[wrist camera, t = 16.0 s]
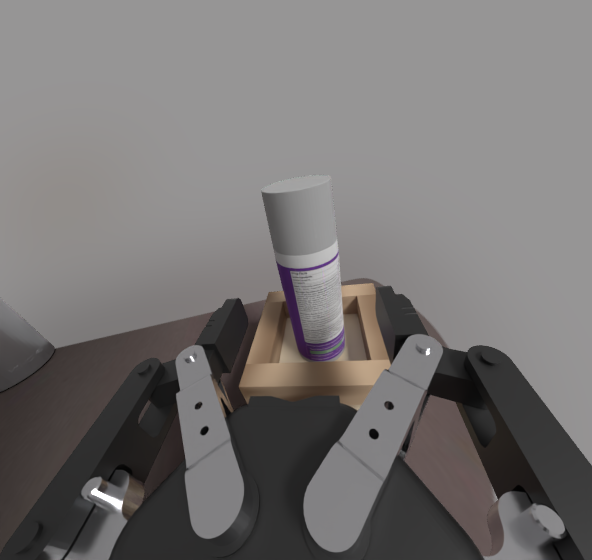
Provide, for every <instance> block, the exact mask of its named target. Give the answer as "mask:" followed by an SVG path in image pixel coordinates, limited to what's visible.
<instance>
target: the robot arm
mask: <svg viewBox="0 0 592 560" xmlns="http://www.w3.org/2000/svg"><path fill="white" fill-rule="evenodd" d="M375 311H376V318H377V321H378V325H379V328H380V331H381V335H382V338H383V341H384V344H385V348H386V351H387V354H388V357H389V361H390V364H391V366H390V368H389V369H388V370H387V369H384V370H383V371H382V373H381V374H380V376H379V378H378V379H377V381H376V382H375V384H374V386H373V387H372V389H371V390H370V392H369V394H368V395H367V397H366V399H365V400H364V402H363V403H362V405H361V407H360V408H359V410H356V409H354V408H353V407H351V406H348V405H346V404H343V403H340V398H339V395H338V396H313V397H309V398H306V399H302V400H298V401H294V402H291V401H287V400H284V399H280V398H276V397H273V396H250V399H249V403H248V404H246V405H244V406H241V407H239V408H237V409H236V410H234V411H233V408H232V406H231V404H230V401H229V398H228V396H227V393H226V390H225V388H224V385H223V382H222V380H221V375H222V373H230V372H231V370H232V367H233V364H234V362H235V359H236V356H237V353H238V351H239V348H240V345H241V343H242V340H243V337H244V335H245V332H246V329H247V326H248V318H247V315H246V312H245V309H244V307H243V304H242V302H241V300H240V299H239V298H237V299H227V300H226V301H225V303H224V304H223V306H222V308H219V309H218V310H217V311H215V312H214V313H213V314H212V316H211V318H210V319H209V322H208V323H207V325H206V327H205V328H204V330H203V331H202V333H201V335H200V336H199V338H198V340H197V342H196V343H195V345H194V346H190V347H188V348H186V349H185V350H183V351H182V352H181V353H180V354H179V355H178V357H177V359H175V360H172V361H169V362H166V363H163V364H162V363H161V362H160V361H159V359H157V358H150V359H147V360H145V361H143V362H141V363H140V364H138V365H137V366H136V367H135V368H134V369H133V370H132V372H131V373H130V374H129V376H128V377H127V378H126V380H125V381H124V383H123V384H122V385H121V387H120V388H119V389H118V391H117V392H116V394H115V395H114V396H113V398H112V399H111V400H110V402H109V403H108V405H107V406H106V407H105V409H104V410H103V411H102V413H101V414H100V416H99V417H98V418H97V420H96V421H95V422H94V424H93V425H92V426H91V428H90V429H89V431H88V432H87V433H86V435H85V436H84V437H83V439H82V440H81V442H80V443H79V444H78V446H77V447H76V448H75V450H74V451H73V453H72V454H71V455H70V457H69V458H68V459H67V461H66V462H65V464H64V465H63V466H62V468H61V469H60V470H59V472H58V473H57V475H56V476H55V477H54V479H53V480H52V481H51V483H50V484H49V485H48V487H47V488H46V490H45V491H44V492H43V494H42V495H41V496H40V498H39V499H38V501H37V502H36V503H35V505H34V506H33V507H32V509H31V510H30V512H29V513H28V514H27V516H26V517H25V518H24V520H23V521H22V523H21V524H20V525H19V527H18V528H17V529H16V531H15V532H14V533H13V535H12V536H11V538H10V539H9V540H8V542H7V543H6V545H5V547H4V548H3V550H2V552H1V554H0V560H592V466H591V464H590V463H589V462H588V460H587V459H586V458H585V456H584V455H583V454H582V452H581V451H580V450H579V448H578V447H577V446H576V444H575V443H574V442H573V441H572V439H571V438H570V437H569V435H568V434H567V433H566V432H565V430H564V429H563V427H562V426H561V425H560V423H559V422H558V421H557V420H556V418H555V417H554V416H553V414H552V413H551V412H550V410H549V409H548V408H547V406H546V405H545V404H544V402H543V401H542V400H541V398H540V397H539V396H538V394H537V393H536V392H535V391H534V389H533V388H532V387H531V385H530V384H529V383H528V381H527V380H526V379H525V378H524V376H523V375H522V373H521V372H520V371H519V369H518V368H517V367H516V365H515V364H514V363H513V362H512V360H511V359H510V358H509V357H508V356H507V355H506V354H504V353H502V352H501V351H499V350H497V349H495V348H492V347H489V346H482V345H479V346H473V347H471V348H470V349H469V350H468V352H463V351H457V350H452V349H448V348H445V347H443V346H441V344H440V343H439V342H438V341H437V340H435V339H434V338H432V337H430V336H429V335H428V333H427V331H426V330H425V328H424V326H423V324H422V322H421V320H420V318H419V317H418V315H417V314H416V311H415V309H414V308H413V305H412V304H411V302H410V300H409V299H407V298H406V297H405V296H404V295H402V294H397V295H395V293H394V291H393V289H392V287H391V286H382V287H376V303H375ZM54 350H55V349H54V346H53V345H52V344H51V343H49V342H48V341H47V340H46V339H45V338H44V337H43V336H42V335H41V334H40V333H39V332H38V331H36V330H35V329H34V328H33V327H32V326H31V325H30V324H29V323H28V322H27V321H26V320H25V319H23V318H22V317H21V316H20V315H19V314H18V313H17V312H16V311H15V310H13V309H12V308H11V307H10V306H9V305H8V304H7V303H6V302H5V301H3V299H1V298H0V392H1V391H4V390H6V389H8V388H10V387H12V386H13V385H15V384H17V383H19V382H20V381H22V380H24V379H25V378H27V377H28V376H30V375H31V374H33V373H34V372H35V371H36V370H38V369H39V368H40V367H41V366H42V365H44V364H45V363H46V362H47V361H48V360H49V358H50V357H51V356H52V354H53V353H54ZM431 395H433V396H437V397H440V398H444V399H447V400H451V401H455V402H456V404H457V407H458V409H459V411H460V413H461V416H462V418H463V420H464V423H465V425H466V427H467V429H468V432H469V434H470V436H471V439H472V441H473V443H474V445H475V448H476V450H477V452H478V455H479V457H480V459H481V461H482V464H483V466H484V468H485V471H486V473H487V475H488V477H489V480H490V482H491V484H492V487H493V489H494V491H495V493H496V496H497V498H498V500H497V501H496V502H495V503H494V504H493V505H492V506H491V507H490V509H489V511H488V514H487V522H488V527H489V531H490V535H491V540H492V549H491V553H490V555H489V557H484V556H482V554H481V553H480V551H479V549H478V548H477V546H476V545H475V544H474V542H473V541H472V539H471V538H470V537H469V535H468V534H467V533H466V532H465V530H464V529H463V528H462V527H461V526H460V525H459V523H458V522H457V521H456V520H455V519H454V518H453V517H452V515H451V514H450V513H449V512H448V511H447V510H446V509H445V507H444V506H443V505H442V504H441V503H440V502H439V500H438V499H437V498H436V497H435V496H434V495H433V494H432V492H431V491H430V490H429V489H428V488H427V487H426V485H425V484H424V483H423V482H422V481H421V480H420V479H419V477H418V476H417V475H416V474H415V473H414V472H413V470H412V469H411V468H410V467H409V466H408V465H407V464H406V462H405V459H406V457H407V454H408V452H409V449H410V447H411V444H412V442H413V439H414V436H415V433H416V430H417V427H418V425H419V422H420V420H421V418H422V415H423V413H424V410H425V408H426V406H427V403H428V401H429V398H430V396H431ZM148 399H149V400H150V402H151V404H150V406H149V407H148V409H147V411H146V413H145V414H144V416H143V418H142V420H141V421H140V423H139V424H138V418H139V415H140V413H141V411H142V410H143V408H144V406H145V405H146V403H147V401H148ZM177 411H178V412H179V419H180V425H181V432H182V439H183V445H184V452H185V460H184V461H183V462H182V463H181V464H180V465H179V466H178V467H177V468H176V469H175V470H174V471H173V472H172V473H171V474H170V475H169V476H168V477H167V478H166V479H165V480H164V481H163V482H162V483H161V485H160V486H159V487H158V488H157V489H156V490H155V491H154V492H153V493H152V494H151V495H150V496H149V497H148V498H147V499H146V500H145V501H144V502H143V501H142V500H143V497H144V491H145V490H144V483H145V480H146V478H147V476H148V474H149V472H150V470H151V467H152V465H153V463H154V461H155V459H156V456H157V454H158V452H159V450H160V448H161V445H162V443H163V441H164V439H165V437H166V435H167V432H168V430H169V428H170V426H171V424H172V421H173V419H174V417H175V415H176V413H177Z"/></svg>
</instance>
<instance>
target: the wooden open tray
mask: <svg viewBox="0 0 592 560" xmlns="http://www.w3.org/2000/svg"><path fill="white" fill-rule="evenodd" d="M341 293H342V307H343V320H344V334H345V349H344V352H343V354H342V355H341V356H340V357H339V358H338V359H337V360H335V361H330V362H308V361H306V360H304V359H303V358H302V357H301V355H300V354H299V351H298V348H297V344H296V340H295V336H294V332H293V328H292V324H291V319H290V315H289V311H288V307H287V303H286V299H285V295H284V291H277V292H269V293H268V296H267V300H266V303H265V306H264V309H263V312H262V315H261V318H260V321H259V325H258V328H257V331H256V334H255V337H254V340H253V343H252V347H251V350H250V353H249V356H248V359H247V362H246V365H245V369H244V372H243V375H242V378H241V381H240V384H239V389H240V391H241V392H242V394H243V396H244V398H245V400H246V402H247V404H248V403H249V399H250V396H273V397H276V398H280V399H284V400H287V401H291V402H294V401H298V400H302V399H306V398H309V397H313V396H338V395H339V398H340V403H343V404H346V405H348V406H351V407H353V408H354V409H356V410H359V408H360V407H361V405H362V403H363V402H364V400H365V399H366V397H367V395H368V394H369V392H370V390H371V389H372V387H373V386H374V384H375V382H376V381H377V379H378V378H379V376H380V374H381V373H382V371H383V370H384V369H387V370H388V369H389V368H390V366H391V364H390V361H389V357H388V354H387V351H386V348H385V344H384V341H383V338H382V335H381V331H380V328H379V325H378V321H377V318H376V311H375V303H376V291H375V288H374V285H373V283H370V284H359V285H347V286H341Z"/></svg>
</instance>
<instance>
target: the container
mask: <svg viewBox="0 0 592 560" xmlns="http://www.w3.org/2000/svg"><path fill="white" fill-rule="evenodd" d="M261 192H262V197H263V202H264V206H265V211H266V216H267V220H268V225H269V229H270V234H271V239H272V243H273V248H274V253H275V258H276V263H277V266H278V270H279V275H280V278H281V283H282V287H283V291H284V295H285V299H286V303H287V307H288V311H289V315H290V319H291V324H292V328H293V332H294V336H295V340H296V344H297V348H298V351H299V354H300V355H301V357H302V358H303V359H304V360H306V361H308V362H330V361H335V360H337V359H338V358H339V357H340V356H341V355H342V354H343V352H344V349H345V334H344V320H343V307H342V293H341V279H340V265H339V251H338V242H337V233H336V223H335V214H334V205H333V204H334V203H333V194H332V184H331V177H330V176H326V175H312V176H304V177H298V178H292V179H287V180H283V181H280V182H276V183H273V184H270V185H268V186H266V187H264V188H263V189H262V190H261Z"/></svg>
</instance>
